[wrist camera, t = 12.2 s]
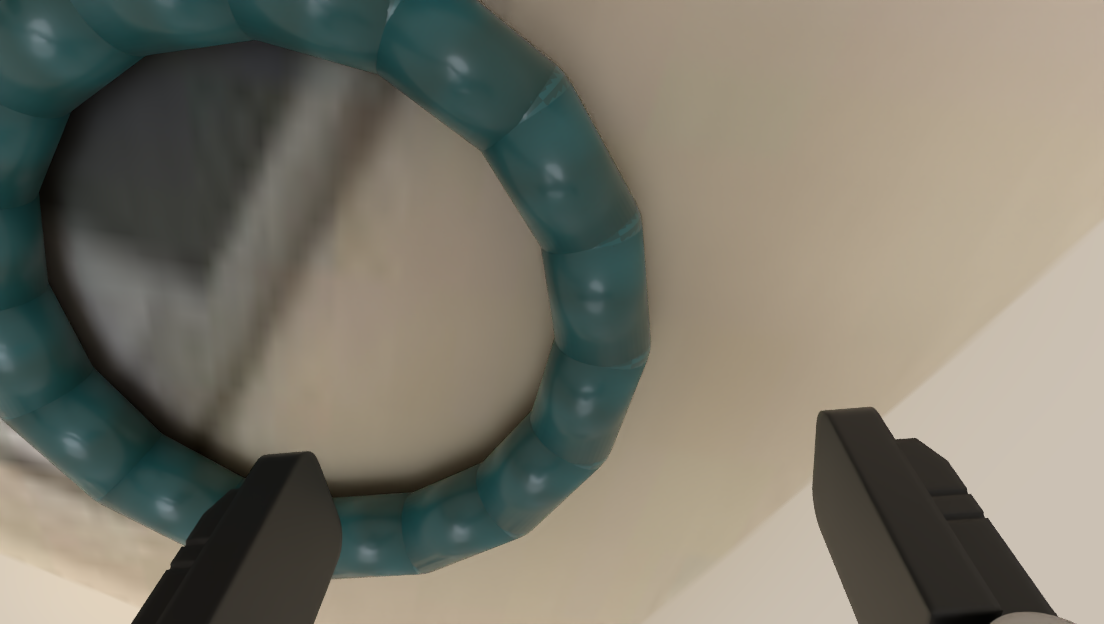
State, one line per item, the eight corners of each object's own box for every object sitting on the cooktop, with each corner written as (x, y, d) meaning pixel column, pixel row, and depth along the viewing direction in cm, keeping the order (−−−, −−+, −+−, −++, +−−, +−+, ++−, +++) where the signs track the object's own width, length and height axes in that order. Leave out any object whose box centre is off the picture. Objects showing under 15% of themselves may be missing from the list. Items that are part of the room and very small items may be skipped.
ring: (141, 549, 24) (98, 609, 21) (-187, -21, 15) (-312, -15, 13) (662, 516, 22) (670, 578, 20) (611, -151, 13) (616, -169, 11)
